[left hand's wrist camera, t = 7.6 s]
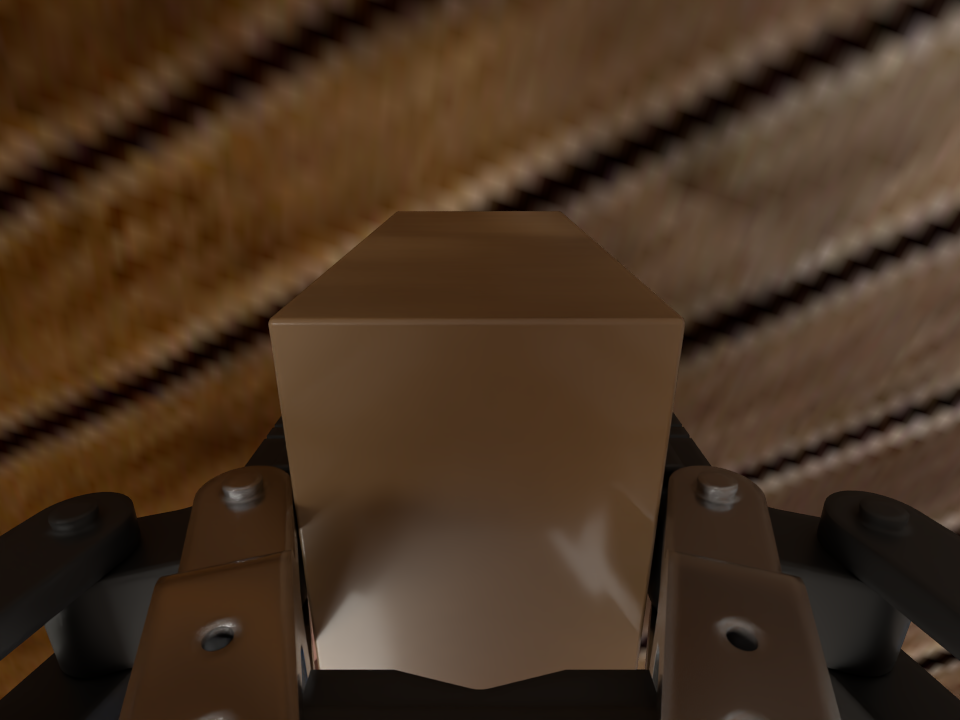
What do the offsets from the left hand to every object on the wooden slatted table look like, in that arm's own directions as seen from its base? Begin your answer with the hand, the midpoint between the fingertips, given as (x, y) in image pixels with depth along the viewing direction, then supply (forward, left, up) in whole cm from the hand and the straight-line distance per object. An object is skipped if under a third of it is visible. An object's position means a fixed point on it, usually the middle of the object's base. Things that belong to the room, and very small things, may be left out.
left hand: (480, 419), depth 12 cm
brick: (0, 0, -6) cm, 6 cm away
